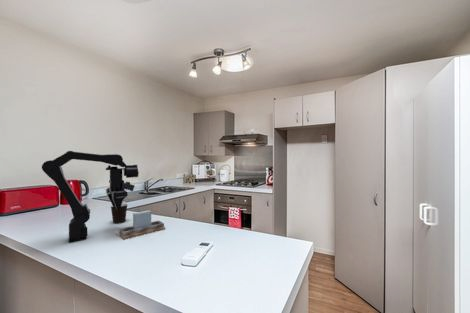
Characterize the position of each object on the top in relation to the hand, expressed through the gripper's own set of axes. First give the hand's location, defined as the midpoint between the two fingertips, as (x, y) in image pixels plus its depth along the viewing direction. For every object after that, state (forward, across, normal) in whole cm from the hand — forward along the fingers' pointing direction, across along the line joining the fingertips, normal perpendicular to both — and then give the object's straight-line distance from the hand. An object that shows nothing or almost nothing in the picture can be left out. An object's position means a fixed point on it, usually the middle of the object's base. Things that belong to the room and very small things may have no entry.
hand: (116, 208), depth 107 cm
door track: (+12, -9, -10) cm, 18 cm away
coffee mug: (+12, +18, -6) cm, 23 cm away
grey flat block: (+11, -9, -10) cm, 17 cm away
